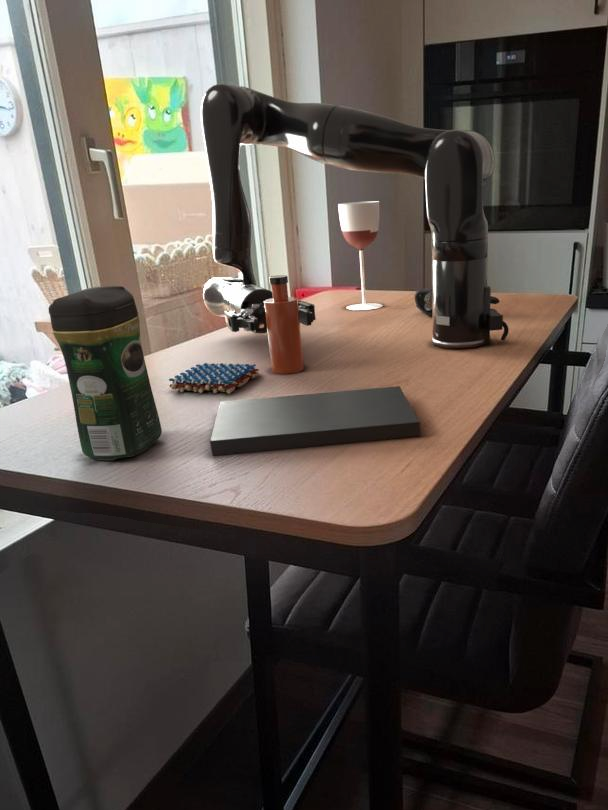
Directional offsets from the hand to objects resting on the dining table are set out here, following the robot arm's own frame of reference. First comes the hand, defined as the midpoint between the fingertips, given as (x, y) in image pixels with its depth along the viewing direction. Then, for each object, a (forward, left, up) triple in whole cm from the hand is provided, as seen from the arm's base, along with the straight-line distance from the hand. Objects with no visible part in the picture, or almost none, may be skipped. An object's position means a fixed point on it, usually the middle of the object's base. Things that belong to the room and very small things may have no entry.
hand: (283, 322), depth 109 cm
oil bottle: (0, 0, -8) cm, 8 cm away
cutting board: (-3, +28, -8) cm, 29 cm away
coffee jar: (+20, +30, -8) cm, 37 cm away
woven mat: (+11, +5, -8) cm, 14 cm away
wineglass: (-18, -50, -8) cm, 54 cm away
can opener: (-35, -32, -8) cm, 48 cm away
